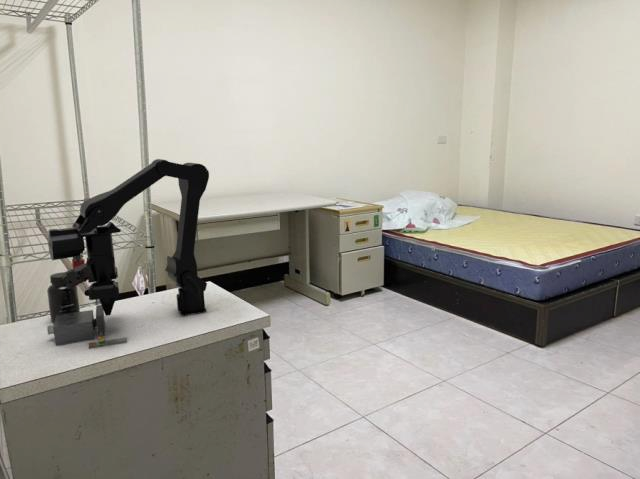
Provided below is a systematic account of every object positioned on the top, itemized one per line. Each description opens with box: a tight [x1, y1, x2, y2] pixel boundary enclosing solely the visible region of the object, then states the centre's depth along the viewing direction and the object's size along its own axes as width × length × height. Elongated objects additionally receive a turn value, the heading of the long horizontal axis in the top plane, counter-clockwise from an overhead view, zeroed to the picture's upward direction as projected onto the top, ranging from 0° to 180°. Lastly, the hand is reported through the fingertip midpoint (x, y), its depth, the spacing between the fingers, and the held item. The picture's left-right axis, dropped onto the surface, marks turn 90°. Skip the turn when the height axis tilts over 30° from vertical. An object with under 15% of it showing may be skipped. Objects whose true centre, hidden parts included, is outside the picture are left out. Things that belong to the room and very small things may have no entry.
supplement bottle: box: [47, 271, 81, 323], centre depth 123 cm, size 7×7×12 cm
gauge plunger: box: [46, 304, 106, 342], centre depth 112 cm, size 12×13×5 cm
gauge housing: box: [53, 309, 128, 350], centre depth 113 cm, size 15×13×4 cm
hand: (108, 315), depth 116 cm, fingers closed, pressing on gauge plunger
